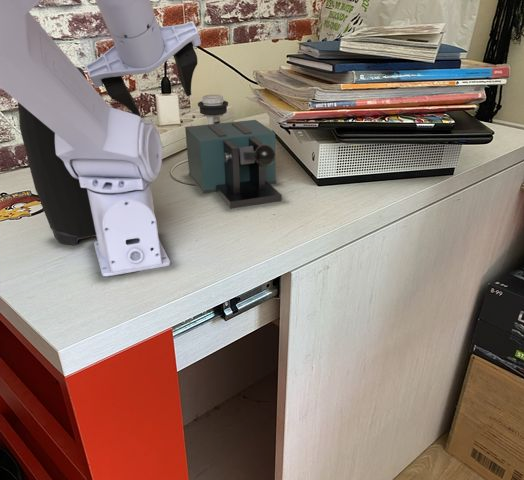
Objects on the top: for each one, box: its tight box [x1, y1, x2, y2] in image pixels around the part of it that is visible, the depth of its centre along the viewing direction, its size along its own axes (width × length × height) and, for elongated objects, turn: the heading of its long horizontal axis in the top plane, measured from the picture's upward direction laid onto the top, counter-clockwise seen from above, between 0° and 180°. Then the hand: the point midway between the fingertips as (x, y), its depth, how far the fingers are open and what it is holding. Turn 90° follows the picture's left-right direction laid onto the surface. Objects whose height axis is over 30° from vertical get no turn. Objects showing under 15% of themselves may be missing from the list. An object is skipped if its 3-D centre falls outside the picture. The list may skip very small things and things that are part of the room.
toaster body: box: [184, 119, 277, 195], centre depth 86 cm, size 9×12×8 cm
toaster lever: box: [238, 144, 276, 167], centre depth 76 cm, size 12×3×3 cm, turn 20°
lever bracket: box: [215, 137, 282, 210], centre depth 81 cm, size 10×8×8 cm
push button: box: [197, 94, 229, 125], centre depth 97 cm, size 7×5×10 cm
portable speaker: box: [17, 66, 97, 246], centre depth 66 cm, size 9×9×20 cm
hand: (161, 101), depth 75 cm, fingers open, 7 cm apart
